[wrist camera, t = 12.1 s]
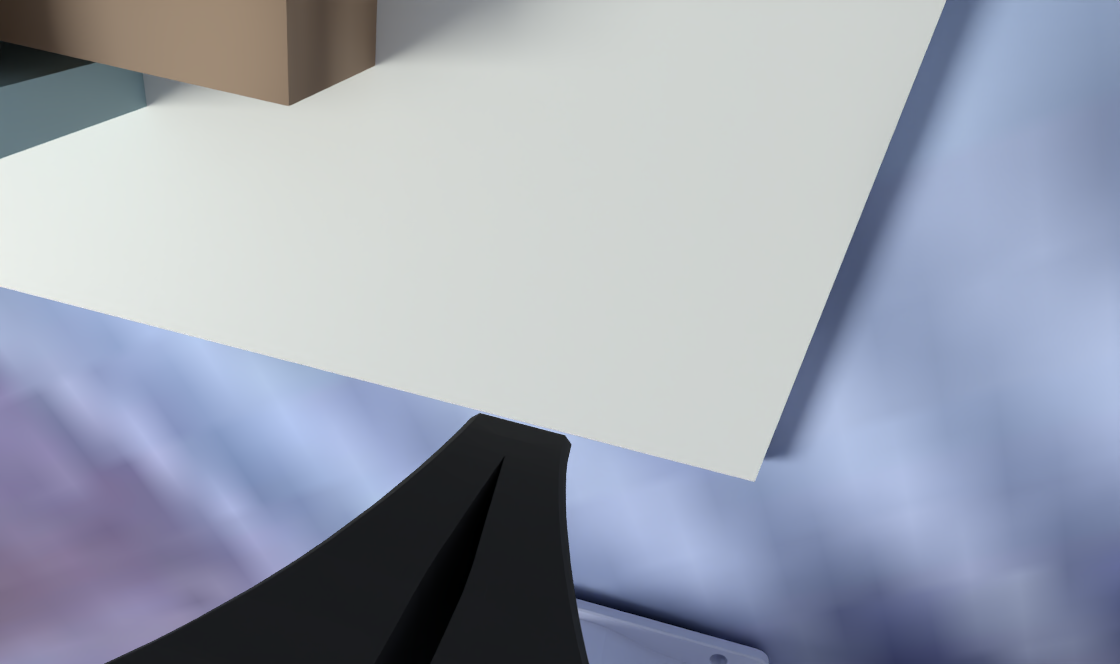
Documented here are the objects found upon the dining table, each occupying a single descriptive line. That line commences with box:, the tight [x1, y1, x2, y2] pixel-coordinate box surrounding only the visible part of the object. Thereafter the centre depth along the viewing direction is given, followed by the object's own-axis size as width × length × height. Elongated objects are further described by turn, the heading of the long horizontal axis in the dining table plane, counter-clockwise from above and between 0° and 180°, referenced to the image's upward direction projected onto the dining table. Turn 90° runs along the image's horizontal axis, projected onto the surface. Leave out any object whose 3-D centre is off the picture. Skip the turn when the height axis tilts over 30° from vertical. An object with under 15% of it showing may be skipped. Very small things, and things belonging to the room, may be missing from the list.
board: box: [0, 0, 946, 482], centre depth 16 cm, size 26×15×1 cm, turn 81°
